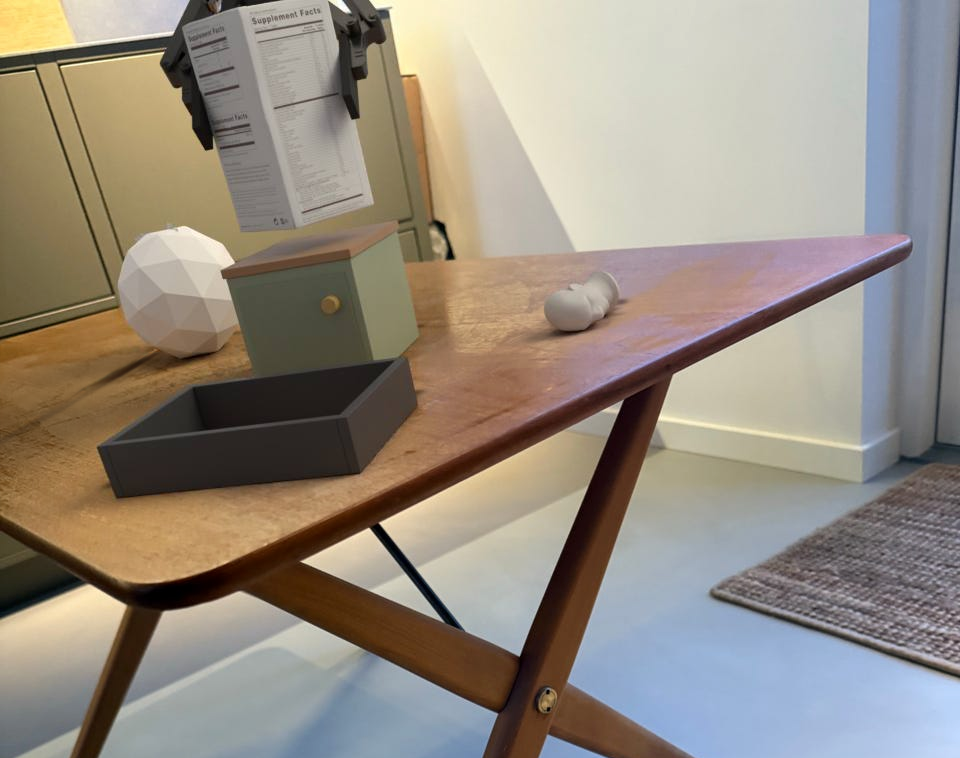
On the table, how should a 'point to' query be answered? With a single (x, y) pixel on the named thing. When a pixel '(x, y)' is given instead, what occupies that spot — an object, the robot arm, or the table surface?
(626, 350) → the table surface
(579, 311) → the smooth white sculpture
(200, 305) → the geodesic sphere
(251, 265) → the cabinet
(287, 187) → the supplement box
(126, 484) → the tray
